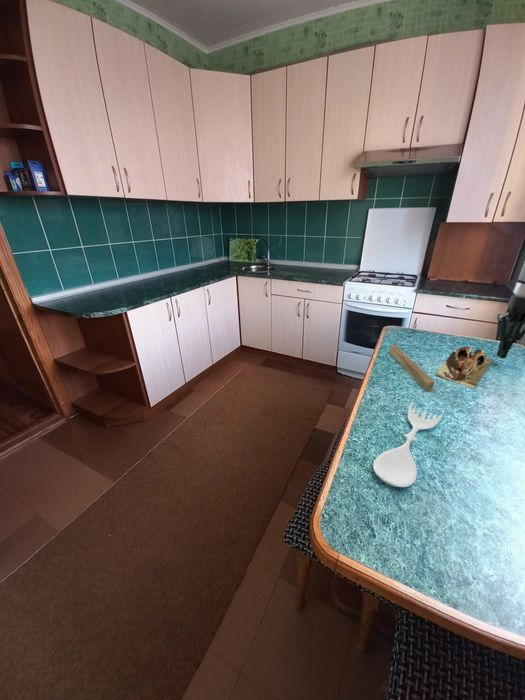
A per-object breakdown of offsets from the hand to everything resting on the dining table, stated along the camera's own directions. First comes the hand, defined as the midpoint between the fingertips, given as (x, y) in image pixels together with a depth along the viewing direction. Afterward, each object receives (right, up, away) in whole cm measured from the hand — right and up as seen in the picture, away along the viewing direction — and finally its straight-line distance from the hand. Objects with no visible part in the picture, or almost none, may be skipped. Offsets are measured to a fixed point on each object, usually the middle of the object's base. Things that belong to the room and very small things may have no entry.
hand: (500, 356), depth 109 cm
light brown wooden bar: (-35, -5, 0) cm, 35 cm away
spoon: (-52, -23, -33) cm, 66 cm away
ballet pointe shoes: (-13, -4, +1) cm, 13 cm away
